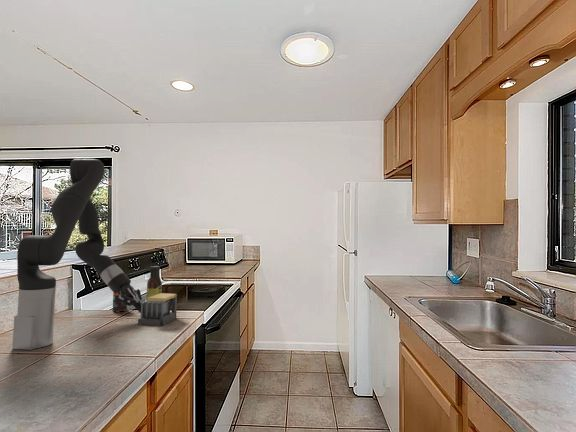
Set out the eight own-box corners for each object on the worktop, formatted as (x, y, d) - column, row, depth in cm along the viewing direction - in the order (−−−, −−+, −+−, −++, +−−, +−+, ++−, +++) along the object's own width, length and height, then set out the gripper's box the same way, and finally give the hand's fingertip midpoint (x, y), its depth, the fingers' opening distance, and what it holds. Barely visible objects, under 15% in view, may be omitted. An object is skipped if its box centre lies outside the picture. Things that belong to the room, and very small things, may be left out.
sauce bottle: (161, 313, 150) (163, 266, 151) (145, 314, 147) (147, 267, 148) (160, 310, 156) (162, 265, 157) (145, 310, 153) (147, 265, 154)
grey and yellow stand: (163, 325, 130) (164, 298, 130) (137, 324, 131) (138, 297, 131) (176, 318, 141) (177, 293, 141) (152, 317, 142) (153, 292, 142)
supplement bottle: (130, 309, 155) (131, 284, 156) (122, 312, 149) (123, 286, 150) (117, 309, 156) (118, 283, 156) (109, 312, 150) (110, 285, 150)
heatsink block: (162, 323, 133) (163, 304, 133) (140, 322, 134) (141, 303, 134) (169, 320, 139) (170, 301, 139) (148, 319, 139) (149, 300, 140)
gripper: (112, 274, 132) (141, 308, 130) (131, 270, 145) (158, 301, 143) (98, 287, 132) (127, 321, 130) (118, 282, 145) (145, 313, 143)
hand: (143, 311), depth 137 cm, fingers closed
